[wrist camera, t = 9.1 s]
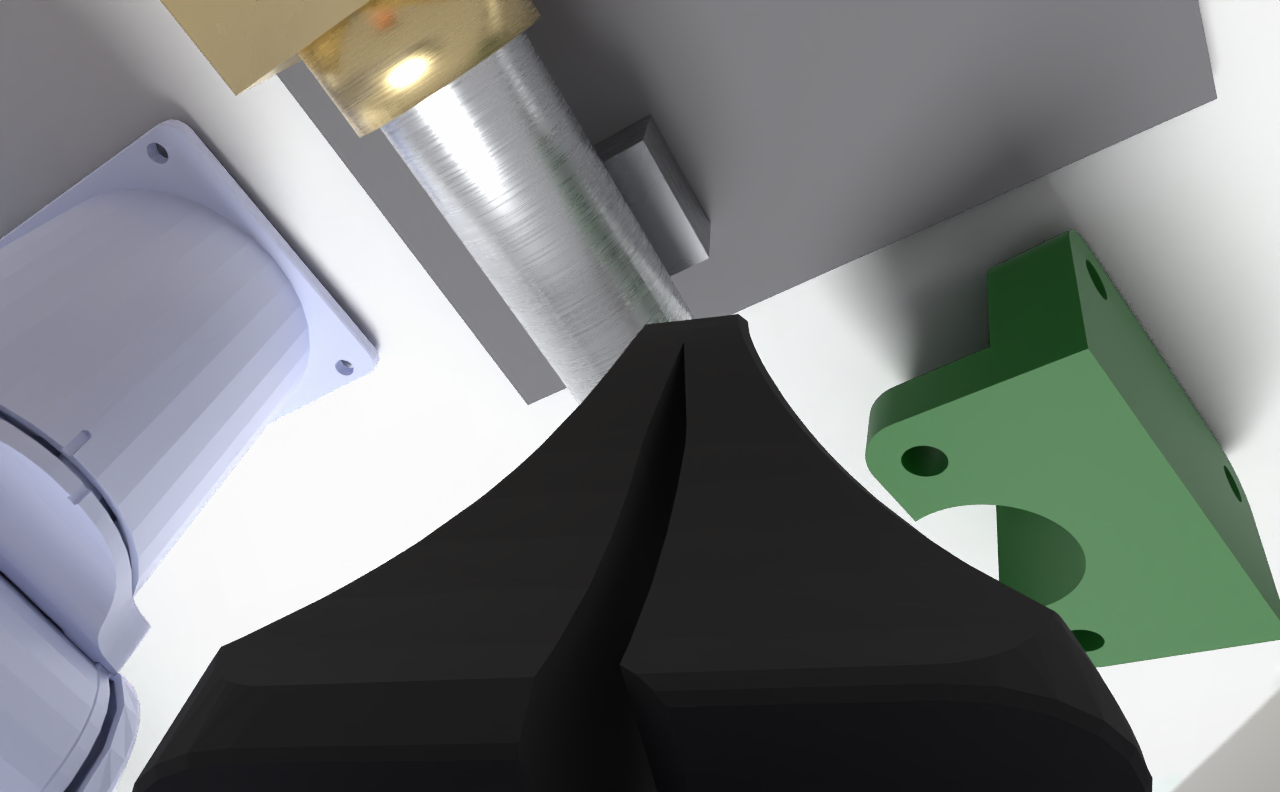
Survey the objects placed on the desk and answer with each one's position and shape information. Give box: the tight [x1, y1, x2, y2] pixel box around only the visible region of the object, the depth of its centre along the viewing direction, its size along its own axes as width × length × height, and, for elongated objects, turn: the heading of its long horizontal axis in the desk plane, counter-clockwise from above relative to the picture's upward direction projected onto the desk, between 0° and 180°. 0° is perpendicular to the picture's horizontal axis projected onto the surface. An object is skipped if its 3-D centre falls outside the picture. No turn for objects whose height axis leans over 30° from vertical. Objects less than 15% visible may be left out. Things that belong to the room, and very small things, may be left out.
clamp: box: [865, 230, 1280, 667], centre depth 21 cm, size 11×6×8 cm, turn 35°
